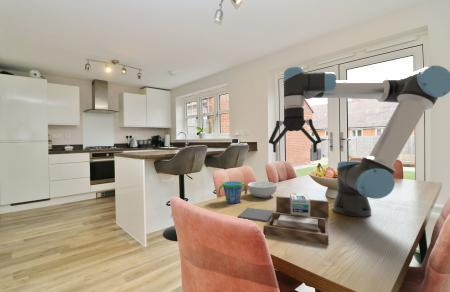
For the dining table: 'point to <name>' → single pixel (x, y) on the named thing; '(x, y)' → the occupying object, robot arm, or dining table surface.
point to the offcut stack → (297, 223)
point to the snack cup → (232, 191)
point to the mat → (256, 214)
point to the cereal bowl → (262, 188)
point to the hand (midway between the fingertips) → (294, 160)
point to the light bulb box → (299, 204)
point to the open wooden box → (317, 211)
